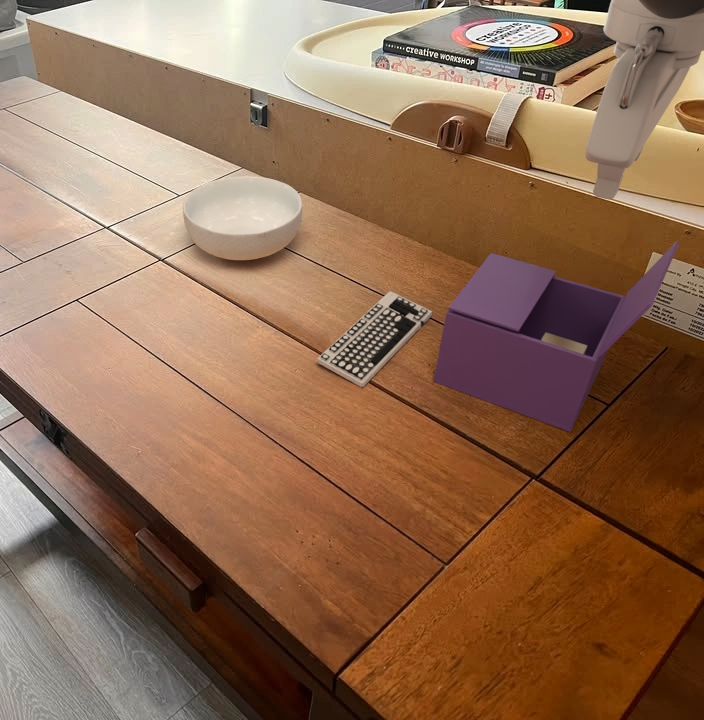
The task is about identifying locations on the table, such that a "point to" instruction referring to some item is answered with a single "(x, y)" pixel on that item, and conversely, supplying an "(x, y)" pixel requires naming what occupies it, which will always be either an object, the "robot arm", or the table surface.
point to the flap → (639, 299)
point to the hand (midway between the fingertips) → (616, 175)
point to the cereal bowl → (242, 216)
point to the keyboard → (375, 339)
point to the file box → (525, 340)
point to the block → (564, 343)
